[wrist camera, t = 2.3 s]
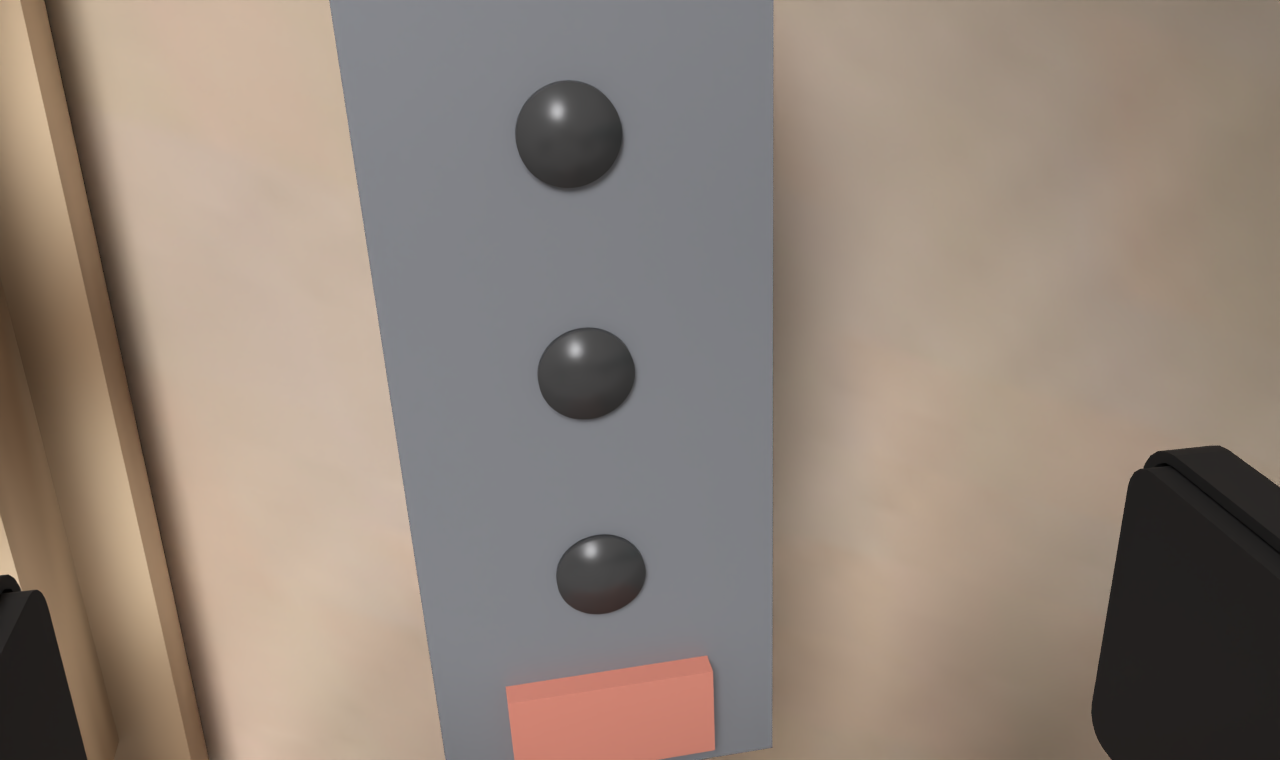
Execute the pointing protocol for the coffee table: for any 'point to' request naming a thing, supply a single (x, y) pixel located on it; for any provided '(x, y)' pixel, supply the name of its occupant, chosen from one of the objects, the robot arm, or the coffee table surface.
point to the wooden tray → (77, 432)
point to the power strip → (578, 360)
